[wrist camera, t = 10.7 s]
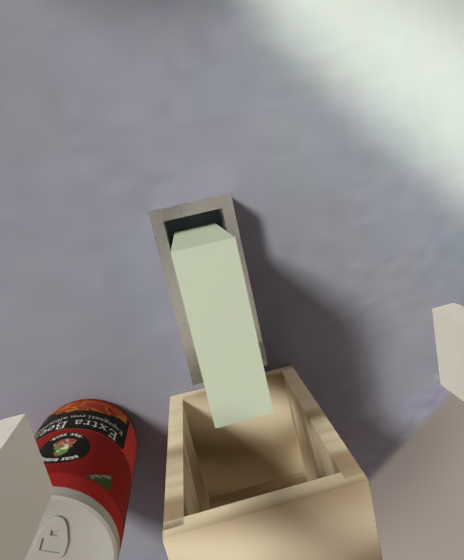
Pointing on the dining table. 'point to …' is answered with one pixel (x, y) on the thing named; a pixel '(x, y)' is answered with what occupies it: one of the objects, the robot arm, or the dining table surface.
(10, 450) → the robot arm
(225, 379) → the pale green rectangular block
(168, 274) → the grey rectangular frame
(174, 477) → the open wooden box
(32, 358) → the dining table surface
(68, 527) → the canned food
